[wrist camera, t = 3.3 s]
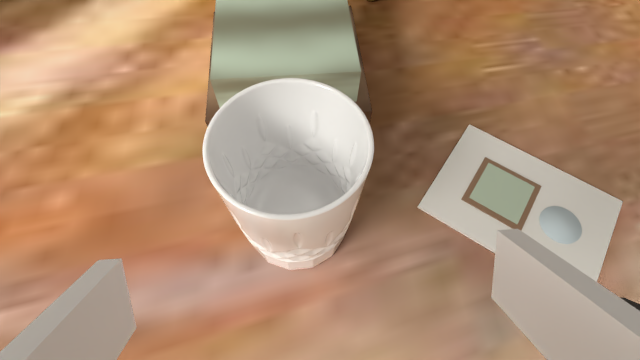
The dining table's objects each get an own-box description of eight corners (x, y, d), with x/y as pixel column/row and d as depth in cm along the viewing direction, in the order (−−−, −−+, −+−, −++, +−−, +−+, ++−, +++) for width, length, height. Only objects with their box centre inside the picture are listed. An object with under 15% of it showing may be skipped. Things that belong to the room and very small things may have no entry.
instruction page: (417, 207, 26) (418, 205, 26) (468, 125, 30) (470, 122, 30) (586, 307, 23) (590, 306, 23) (621, 202, 27) (624, 200, 27)
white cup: (217, 222, 26) (167, 138, 17) (299, 155, 28) (293, 54, 20) (294, 306, 23) (282, 258, 14) (376, 223, 26) (409, 141, 17)
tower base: (366, 135, 29) (378, 81, 24) (215, 145, 29) (193, 91, 24) (348, 33, 35) (354, -28, 30) (221, 39, 35) (204, -22, 29)
